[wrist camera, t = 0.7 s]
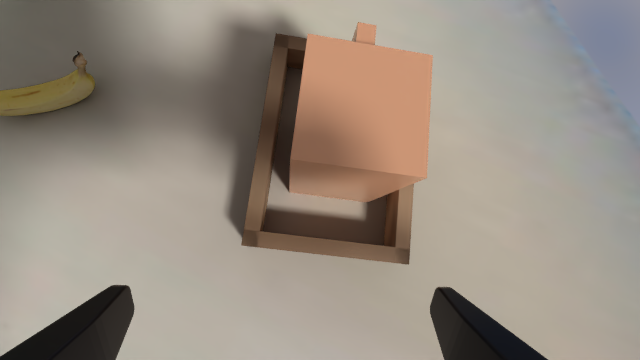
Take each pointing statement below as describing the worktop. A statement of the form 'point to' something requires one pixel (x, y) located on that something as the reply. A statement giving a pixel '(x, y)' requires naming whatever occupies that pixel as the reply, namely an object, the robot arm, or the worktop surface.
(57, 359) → the robot arm
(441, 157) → the worktop surface
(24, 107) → the banana
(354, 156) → the peach box with tab
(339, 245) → the frame
